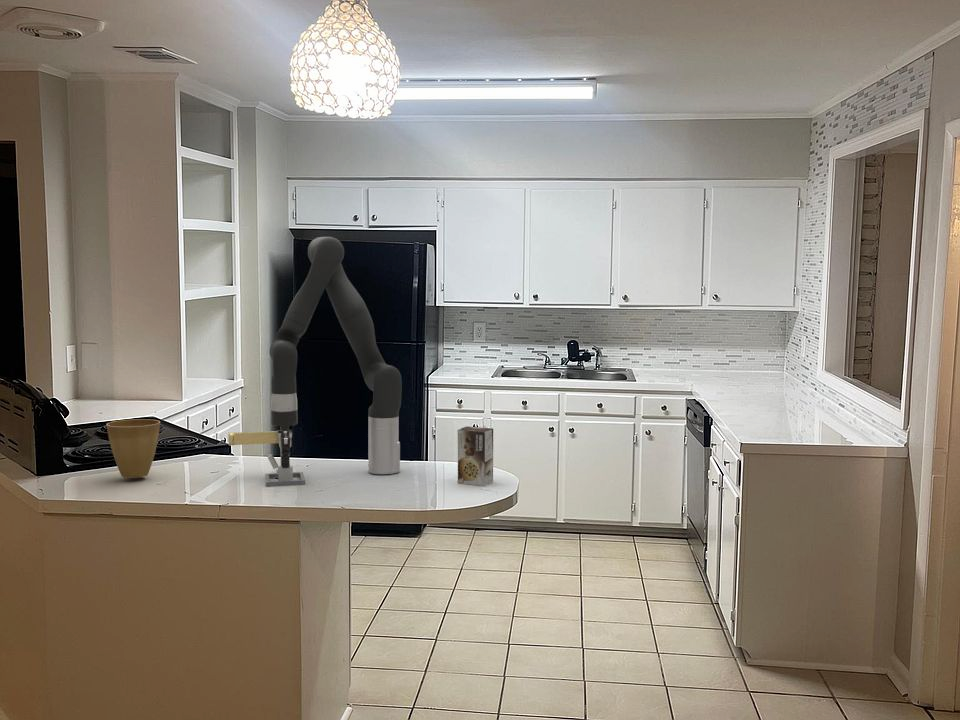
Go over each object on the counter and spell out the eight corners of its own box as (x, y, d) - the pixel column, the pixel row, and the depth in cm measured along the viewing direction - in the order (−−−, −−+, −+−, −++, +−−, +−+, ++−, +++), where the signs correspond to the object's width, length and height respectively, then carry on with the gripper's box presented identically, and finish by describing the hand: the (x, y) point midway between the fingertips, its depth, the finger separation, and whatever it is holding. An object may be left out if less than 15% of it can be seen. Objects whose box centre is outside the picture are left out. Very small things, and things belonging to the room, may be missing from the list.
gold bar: (287, 443, 263) (287, 431, 263) (228, 445, 258) (228, 434, 258) (286, 441, 266) (286, 430, 265) (228, 444, 261) (228, 432, 260)
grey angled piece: (292, 480, 256) (292, 453, 256) (292, 481, 255) (292, 454, 254) (268, 480, 256) (267, 453, 255) (267, 482, 254) (267, 454, 253)
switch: (301, 471, 268) (301, 441, 267) (305, 484, 252) (305, 453, 251) (264, 472, 265) (264, 443, 265) (266, 486, 249) (265, 454, 248)
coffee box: (493, 482, 257) (494, 428, 256) (484, 486, 251) (485, 431, 250) (466, 478, 261) (466, 425, 259) (456, 483, 255) (457, 428, 254)
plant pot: (170, 475, 260) (168, 422, 259) (120, 483, 250) (118, 428, 248) (148, 467, 271) (147, 416, 269) (99, 474, 260) (98, 422, 259)
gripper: (298, 411, 248) (300, 471, 249) (296, 404, 261) (297, 461, 263) (271, 412, 246) (273, 473, 247) (270, 405, 259) (271, 462, 261)
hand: (285, 466), depth 255 cm, fingers closed
